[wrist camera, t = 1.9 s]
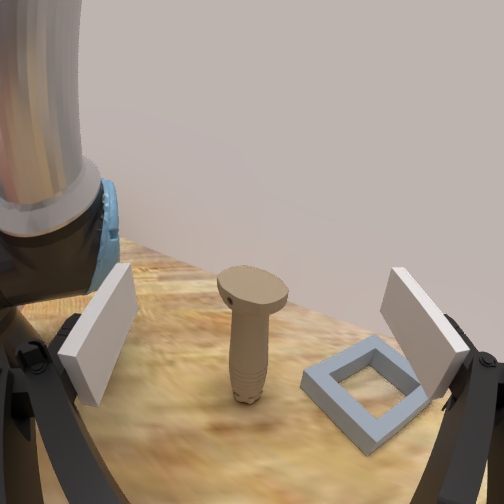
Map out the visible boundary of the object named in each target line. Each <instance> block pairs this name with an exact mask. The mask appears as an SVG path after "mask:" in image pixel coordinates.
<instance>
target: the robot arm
mask: <svg viewBox="0 0 504 504" xmlns="http://www.w3.org/2000/svg"><path fill="white" fill-rule="evenodd" d="M81 3H82V0H0V504H44V501H43V495H42V489H41V483H40V475H39V467H38V458H37V446H36V430H35V418H36V421H37V425H38V428H39V431H40V434H41V437H42V440H43V442H44V445H45V448H46V451H47V453H48V456H49V459H50V461H51V464H52V466H53V469H54V471H55V473H56V476H57V478H58V480H59V483H60V485H61V487H62V489H63V491H64V493H65V496H66V498H67V500H68V502H69V504H130V503H129V501H128V500H127V498H126V497H125V495H124V494H123V492H122V491H121V489H120V488H119V486H118V484H117V483H116V481H115V480H114V478H113V476H112V475H111V473H110V471H109V470H108V468H107V466H106V464H105V463H104V461H103V459H102V457H101V456H100V454H99V452H98V450H97V448H96V446H95V444H94V442H93V441H92V439H91V437H90V435H89V433H88V431H87V429H86V427H85V424H84V422H83V420H82V418H81V416H80V414H79V412H78V409H77V407H76V405H75V403H74V401H75V398H76V396H77V395H78V397H79V399H80V401H81V403H82V404H85V405H90V406H95V407H99V405H100V402H101V400H102V397H103V394H104V392H105V389H106V387H107V384H108V381H109V379H110V376H111V374H112V371H113V369H114V366H115V364H116V361H117V359H118V356H119V354H120V352H121V349H122V347H123V344H124V342H125V340H126V337H127V335H128V333H129V330H130V328H131V326H132V323H133V321H134V319H135V317H136V314H137V312H138V310H139V309H138V303H137V298H136V292H135V287H134V281H133V274H132V268H131V263H120V244H119V235H118V231H119V229H118V225H119V218H118V204H117V195H116V190H115V186H114V183H113V182H112V181H110V180H105V179H101V178H100V173H99V170H98V168H97V166H96V165H95V164H94V163H93V162H92V161H91V160H90V159H88V158H87V157H85V156H83V155H82V148H81V137H80V123H79V104H78V44H79V42H78V41H79V25H80V12H81ZM94 291H97V292H96V293H95V295H94V296H93V298H92V299H91V301H90V302H89V304H88V305H87V307H86V309H85V310H84V312H83V313H82V314H77V313H74V314H73V315H72V316H70V317H69V318H68V319H67V320H66V321H65V322H64V324H63V325H62V327H61V329H60V330H59V331H58V333H57V335H56V336H55V337H54V339H53V341H52V342H51V344H50V345H49V347H48V348H47V347H46V345H45V343H44V342H43V340H42V338H41V336H40V335H39V334H38V332H37V331H36V330H35V329H34V328H33V327H32V325H31V324H30V323H29V322H28V321H27V319H26V318H25V317H24V316H23V315H22V313H21V312H20V311H19V310H18V308H17V306H19V305H24V304H30V303H36V302H43V301H49V300H55V299H61V298H67V297H73V296H79V295H88V294H90V293H91V292H94ZM380 312H381V314H382V316H383V317H384V319H385V321H386V323H387V324H388V326H389V328H390V329H391V331H392V333H393V335H394V336H395V338H396V340H397V342H398V344H399V345H400V347H401V349H402V351H403V353H404V354H405V356H406V358H407V360H408V362H409V364H410V365H411V367H412V369H413V371H414V373H415V375H416V377H417V378H418V380H419V382H420V384H421V386H422V388H423V390H424V392H425V394H426V396H427V398H428V400H429V401H430V400H434V399H438V398H442V397H443V396H444V394H445V393H446V391H447V390H448V388H449V389H450V391H451V392H452V394H451V396H450V397H449V399H448V400H447V402H446V404H445V405H444V406H443V408H442V411H444V409H445V408H446V410H445V414H444V417H443V420H442V423H441V427H440V430H439V433H438V436H437V439H436V442H435V444H434V447H433V450H432V453H431V455H430V458H429V461H428V463H427V466H426V468H425V471H424V473H423V475H422V478H421V480H420V482H419V485H418V487H417V489H416V491H415V493H414V496H413V498H412V500H411V502H410V504H476V501H477V497H478V494H479V490H480V487H481V483H482V479H483V475H484V471H485V467H486V462H487V458H488V480H487V503H486V504H504V363H498V362H497V360H496V358H494V357H493V356H492V355H491V354H489V353H487V352H478V350H477V349H476V348H475V347H474V345H473V344H472V342H471V341H470V340H469V338H468V337H467V336H466V335H465V334H464V332H463V331H462V329H460V327H459V326H458V324H457V323H456V322H455V321H454V320H453V319H452V318H451V317H449V316H448V315H447V314H442V312H441V311H440V310H439V309H438V308H437V306H436V305H435V304H434V303H433V301H432V300H431V299H430V298H429V297H428V295H427V294H426V293H425V292H424V290H423V289H422V288H421V287H420V286H419V285H418V283H417V282H416V281H415V280H414V279H413V278H412V276H411V275H410V274H409V273H408V272H407V271H406V269H405V268H403V267H402V268H401V267H398V268H397V267H392V268H391V272H390V276H389V280H388V283H387V287H386V291H385V295H384V298H383V302H382V306H381V309H380Z"/></svg>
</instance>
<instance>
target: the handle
mask: <svg viewBox="0 0 504 504" xmlns="http://www.w3.org/2000/svg"><path fill="white" fill-rule="evenodd" d="M217 287H218V290H219V293H220V295H221V297H222V299H223V301H224V302H225V304H226V305H227V306H228V307H229V308H230V309H232V324H231V339H230V351H229V372H230V380H231V385H232V388H233V391H234V397H235V399H236V400H237V401H239V402H240V401H241V402H246V403H248V404H252V403H253V402H254V401H255V400H256V399H259V398H260V397H261V394H262V388H263V385H264V382H265V378H266V374H267V366H268V331H269V315H270V314H273V313H275V312H277V311H279V310H281V309H282V308H283V307H284V306H285V304H286V302H287V298H288V291H289V290H288V288H287V286H286V285H285V284H284V282H283V281H282V280H281V279H280V278H278V277H277V276H275V275H273V274H271V273H269V272H267V271H265V270H262V269H259V268H255V267H250V266H245V265H242V266H235V267H231V268H228V269H226V270H223V271H222V272H221V273H219V274H218V276H217Z"/></svg>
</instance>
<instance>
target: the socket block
mask: <svg viewBox="0 0 504 504" xmlns="http://www.w3.org/2000/svg"><path fill="white" fill-rule="evenodd" d="M367 365H370V366H371V367H373V368H374V369H375V370H376V371H377V372H379V373H380V374H381V375H382V376H383V377H385V378H386V379H387V380H388V381H389V382H391V383H392V384H393V385H394V386H395V387H396V388H398V389H399V390H400V391H401V392H402V393H404V394H405V395H406V396H407V397H406V398H404V399H403V400H402V401H401V402H400V403H398V404H397V405H396V406H394V407H393V408H392V409H391V410H389V411H388V412H387V413H385V414H384V415H383V416H381V417H380V418H379V419H376V418H375V417H374V416H372V415H371V414H370V413H369V412H368V411H367V410H366V409H365V408H364V407H363V406H362V405H361V404H360V403H359V402H357V401H356V400H355V399H354V398H353V397H352V396H351V395H350V394H349V393H348V392H347V391H346V390H345V389H344V388H343V387H342V386H341V385H340V384H339V383H338V382H340V381H342V380H344V379H345V378H347V377H349V376H351V375H352V374H354V373H356V372H357V371H359V370H361V369H363V368H364V367H366V366H367ZM300 387H301V388H302V389H303V390H304V391H305V393H306V394H307V395H308V396H309V397H310V398H311V399H312V400H313V401H314V402H315V403H316V404H317V405H318V406H319V408H320V409H321V410H322V411H323V412H324V413H325V414H326V415H327V416H328V417H329V418H330V419H331V420H332V421H333V422H334V423H335V424H336V425H337V426H338V427H339V428H340V429H341V431H342V432H343V433H344V434H345V435H346V436H347V437H348V438H349V439H350V440H351V441H352V442H353V443H354V444H355V445H356V446H357V447H358V448H359V449H360V450H361V451H362V452H363V453H364V454H365V455H366V456H368V455H369V454H371V453H372V452H373V451H375V450H376V449H377V448H378V447H380V446H381V445H382V444H384V443H385V442H386V441H387V440H389V439H390V438H391V437H392V436H393V435H395V434H396V433H397V432H398V431H399V430H401V429H402V428H403V427H404V426H405V425H406V424H408V423H409V422H410V421H411V420H412V419H413V418H414V417H415V416H417V415H418V414H419V413H420V412H421V411H422V410H423V409H424V408H425V407H426V406H427V405H428V404H429V403H430V402H431V401H432V400H430V401H429V400H428V398H427V396H426V394H425V392H424V390H423V388H422V386H421V384H420V382H419V380H418V378H417V377H416V375H415V373H414V371H413V369H412V367H411V365H410V364H409V362H408V360H407V359H406V358H405V357H404V356H402V355H401V354H400V353H398V352H397V351H396V350H395V349H393V348H392V347H391V346H389V345H388V344H387V343H385V342H384V341H383V340H382V339H380V338H379V337H378V336H376V335H375V334H374V335H372V336H370V337H368V338H366V339H365V340H363V341H361V342H359V343H357V344H355V345H353V346H351V347H350V348H348V349H346V350H344V351H342V352H340V353H338V354H336V355H334V356H332V357H330V358H328V359H326V360H324V361H322V362H320V363H318V364H315V365H313V366H311V367H309V368H307V369H305V370H304V371H303V376H302V380H301V385H300Z"/></svg>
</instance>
